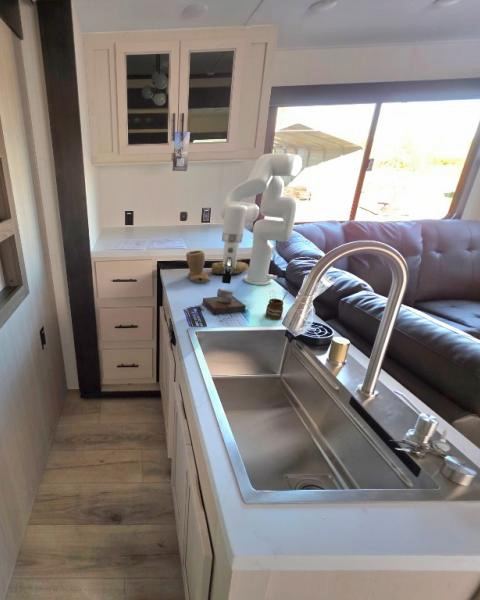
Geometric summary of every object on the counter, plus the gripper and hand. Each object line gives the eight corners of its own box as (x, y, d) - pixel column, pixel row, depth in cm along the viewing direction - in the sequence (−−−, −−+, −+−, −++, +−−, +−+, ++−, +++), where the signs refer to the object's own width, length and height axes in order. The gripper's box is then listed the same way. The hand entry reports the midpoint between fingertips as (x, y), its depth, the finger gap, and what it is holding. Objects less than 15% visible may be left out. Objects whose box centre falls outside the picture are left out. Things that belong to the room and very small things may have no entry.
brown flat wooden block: (231, 301, 140) (232, 294, 139) (244, 312, 130) (245, 305, 129) (202, 304, 138) (202, 297, 136) (213, 315, 128) (214, 308, 126)
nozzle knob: (231, 301, 133) (232, 290, 131) (231, 303, 131) (232, 291, 129) (216, 299, 134) (218, 288, 132) (216, 301, 133) (217, 290, 131)
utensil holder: (266, 312, 130) (271, 285, 125) (282, 315, 127) (288, 288, 122) (263, 318, 125) (269, 290, 121) (281, 321, 122) (287, 293, 118)
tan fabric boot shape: (183, 274, 174) (185, 247, 168) (205, 274, 173) (208, 248, 167) (186, 284, 160) (188, 255, 154) (210, 284, 160) (213, 255, 154)
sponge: (212, 278, 172) (251, 273, 167) (211, 264, 170) (250, 258, 165) (212, 274, 184) (248, 269, 179) (210, 261, 183) (246, 256, 178)
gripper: (242, 243, 113) (235, 287, 120) (242, 234, 128) (236, 273, 135) (221, 241, 115) (215, 285, 122) (223, 232, 130) (218, 272, 137)
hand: (226, 279), depth 128 cm, fingers open, 9 cm apart
